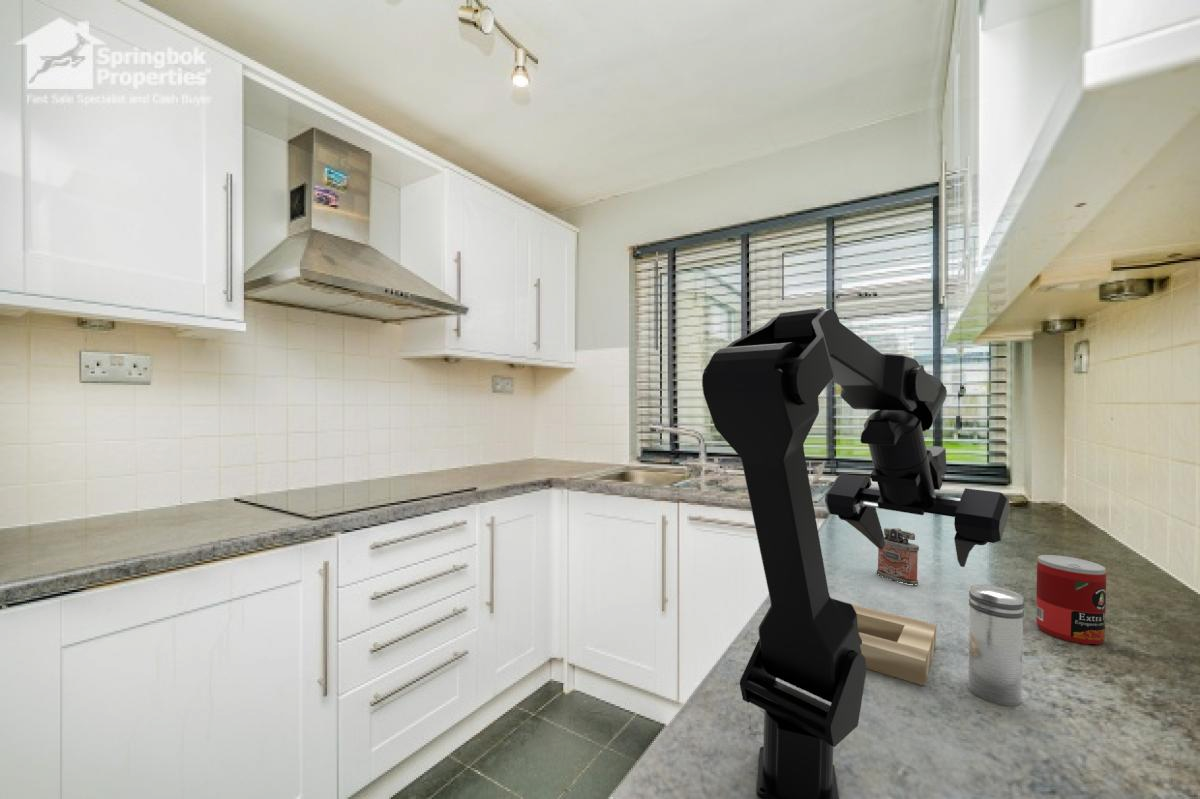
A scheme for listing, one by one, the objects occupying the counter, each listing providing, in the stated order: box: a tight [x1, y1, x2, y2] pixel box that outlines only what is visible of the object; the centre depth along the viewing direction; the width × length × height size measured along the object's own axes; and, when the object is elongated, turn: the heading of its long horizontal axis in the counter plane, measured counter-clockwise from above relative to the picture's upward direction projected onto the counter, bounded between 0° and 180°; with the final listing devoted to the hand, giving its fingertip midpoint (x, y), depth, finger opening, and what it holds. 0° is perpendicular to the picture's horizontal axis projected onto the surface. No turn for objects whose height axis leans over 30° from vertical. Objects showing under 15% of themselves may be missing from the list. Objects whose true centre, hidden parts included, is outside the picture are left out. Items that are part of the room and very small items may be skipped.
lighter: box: [876, 527, 920, 585], centre depth 103 cm, size 8×3×10 cm, turn 25°
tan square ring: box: [850, 603, 938, 687], centre depth 72 cm, size 14×14×3 cm
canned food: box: [1035, 554, 1107, 646], centre depth 79 cm, size 8×8×11 cm
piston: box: [967, 584, 1025, 707], centre depth 61 cm, size 5×5×12 cm
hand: (920, 555), depth 66 cm, fingers open, 9 cm apart
